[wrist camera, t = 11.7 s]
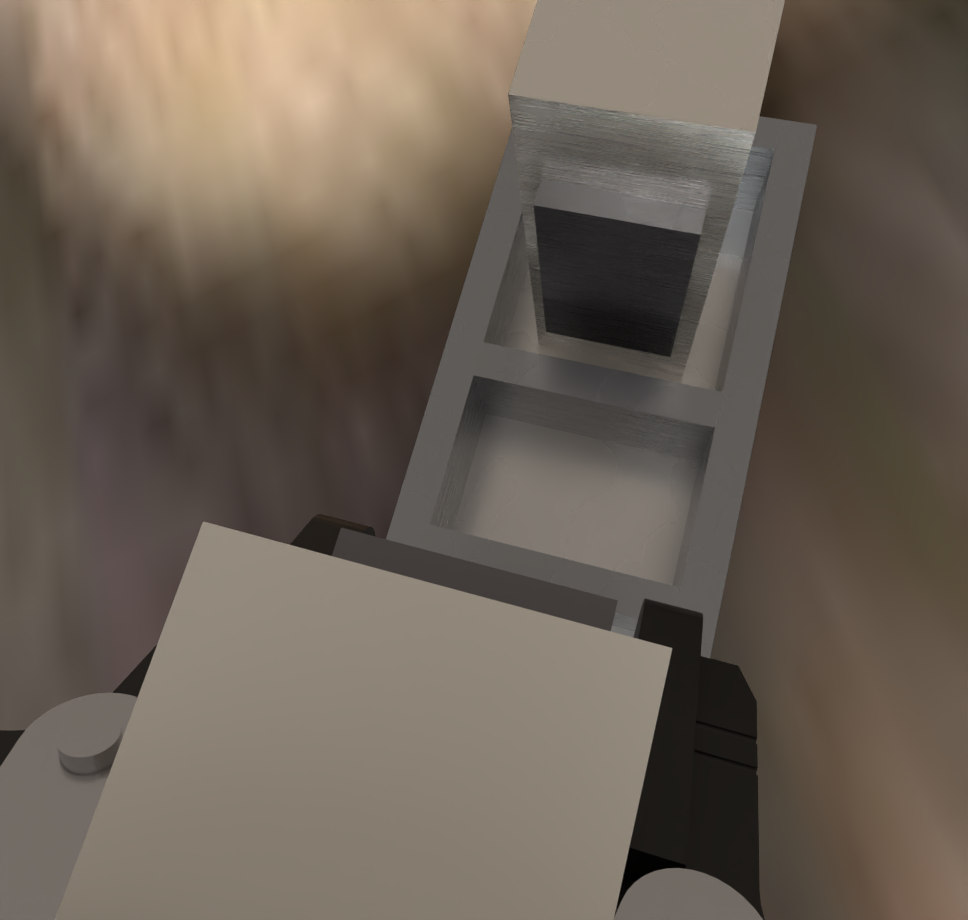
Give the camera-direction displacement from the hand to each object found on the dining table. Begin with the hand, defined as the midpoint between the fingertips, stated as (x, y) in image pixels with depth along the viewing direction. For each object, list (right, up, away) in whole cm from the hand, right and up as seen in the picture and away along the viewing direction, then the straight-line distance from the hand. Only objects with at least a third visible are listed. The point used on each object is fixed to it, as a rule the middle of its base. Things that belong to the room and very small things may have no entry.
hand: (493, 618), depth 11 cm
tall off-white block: (0, -3, +3) cm, 5 cm away
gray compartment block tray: (+2, +1, +10) cm, 11 cm away
